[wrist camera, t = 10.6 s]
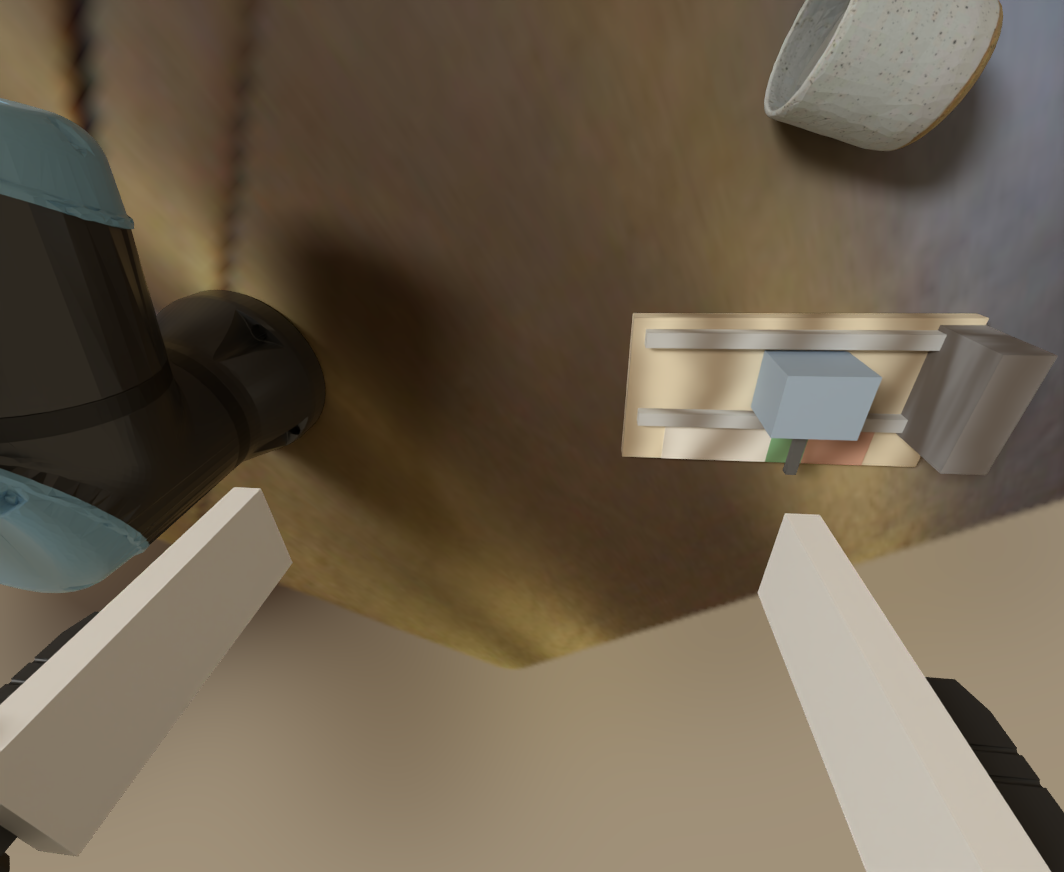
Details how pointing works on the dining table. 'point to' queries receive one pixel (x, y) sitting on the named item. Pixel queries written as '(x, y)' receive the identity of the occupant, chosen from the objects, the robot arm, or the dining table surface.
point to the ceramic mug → (880, 67)
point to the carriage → (812, 397)
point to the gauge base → (874, 338)
